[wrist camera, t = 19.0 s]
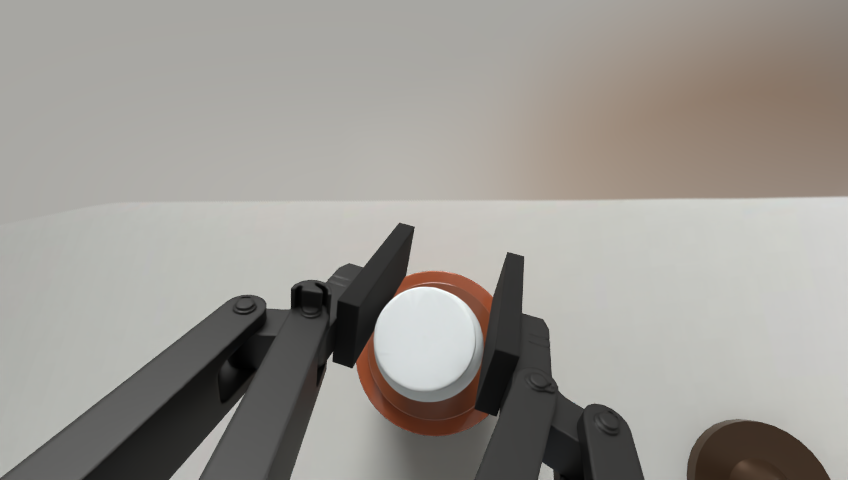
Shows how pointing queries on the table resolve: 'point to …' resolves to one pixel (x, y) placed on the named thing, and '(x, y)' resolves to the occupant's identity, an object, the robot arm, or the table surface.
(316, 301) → the robot arm
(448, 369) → the pill bottle
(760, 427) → the candlestick
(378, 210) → the table surface
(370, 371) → the brown cylindrical container
